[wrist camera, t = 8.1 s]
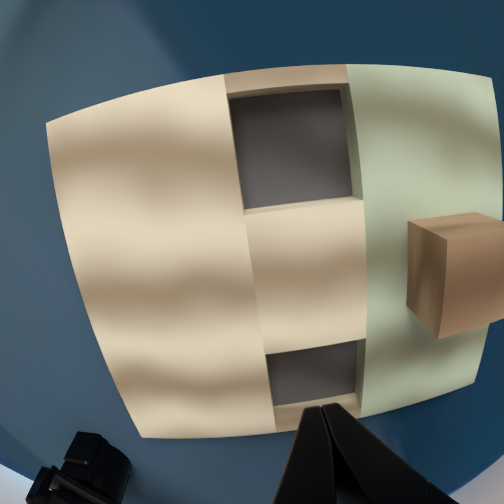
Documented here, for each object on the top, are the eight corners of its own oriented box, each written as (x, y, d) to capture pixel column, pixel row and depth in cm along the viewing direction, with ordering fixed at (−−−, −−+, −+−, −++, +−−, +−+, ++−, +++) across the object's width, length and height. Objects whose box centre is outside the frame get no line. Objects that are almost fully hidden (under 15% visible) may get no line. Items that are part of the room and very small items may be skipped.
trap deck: (462, 369, 21) (473, 382, 19) (147, 419, 22) (141, 437, 20) (473, 82, 15) (491, 78, 13) (63, 124, 16) (46, 123, 14)
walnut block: (470, 289, 17) (507, 316, 13) (406, 305, 17) (438, 339, 13) (475, 212, 16) (519, 227, 12) (407, 220, 16) (447, 239, 12)
